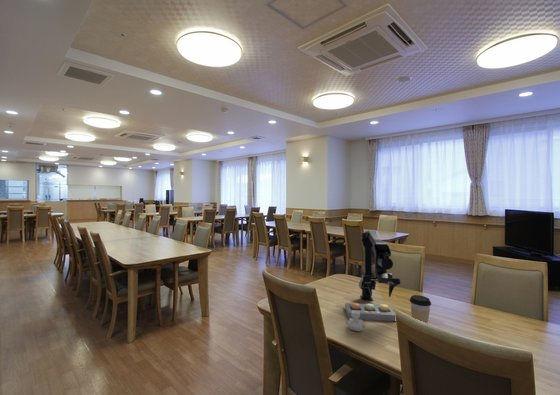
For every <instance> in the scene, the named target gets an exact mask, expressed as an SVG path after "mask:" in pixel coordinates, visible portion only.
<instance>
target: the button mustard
mask: <svg viewBox="0 0 560 395" xmlns="http://www.w3.org/2000/svg"><path fill="white" fill-rule="evenodd" d="M379 305H380V310H381V312H387V311H389V306H390V305H389V304H381V303H380V304H379ZM388 305H389V306H388Z"/></svg>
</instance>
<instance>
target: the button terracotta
mask: <svg viewBox="0 0 560 395" xmlns="http://www.w3.org/2000/svg"><path fill="white" fill-rule="evenodd" d="M360 304H361V303H357V302H352V304H351V308H352V309H353V310H359V309H360Z"/></svg>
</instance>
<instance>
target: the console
mask: <svg viewBox="0 0 560 395" xmlns="http://www.w3.org/2000/svg"><path fill="white" fill-rule="evenodd" d="M352 303H353V302H352ZM352 303H351V302H345V303H344V309H345V313H346V315H347V318H348V319H350V318H353V317H351V313H352V310H353V309H352V308H351V304H352ZM359 304H360V309H359V310H356V311H360V317H359V318H358V319H359V320H365V321H366V320H367V321H383V322H385V321H387V322H396V321H395V313H396V312H395V311H394V309H392V307H391V306H390V305H389V304H387V305H388V306H389V311H387V312H381V310H380V305H381V304H373V305H374V310H373V311H367V309H365V307H366V304H367V303H359Z"/></svg>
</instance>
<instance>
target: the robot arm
mask: <svg viewBox="0 0 560 395" xmlns="http://www.w3.org/2000/svg"><path fill="white" fill-rule="evenodd" d="M359 240H360V241H359V242H360V244H361V247H362V248H363V273H362V274H361V276H360V278H361V279H360V280H359V282H358V287H359V289H360V290H361V294H360V295H359V297H360V298H361V300H363V301H374V299H373V297H372V296H373V291H375V290H376V284H377V282H378V283H379V284H388V297H389V298H391V296H392V293H393V290H394V288H396V287H398V285H401V279H400V278H399V277H398V276H393V273H389V272H388V273H387V270H388V271H389V270H391V269H392V268H393V267H394V262H393V260H392V259H391V258H390V257H391V256H392V252H391V249H390V246H389V244H388V242H386V241H384V240H382V239H381V238H380V237H379V236H378V234H377V231H376V230H373V229H372V230H368V229H367V230H366V231H365V232H362V233H361V234H360V236H359ZM372 251H373V254H374V274H373V269H372V266H373V264H372V263H373V262H372V261H373V260H372V259H373V258H372Z"/></svg>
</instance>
